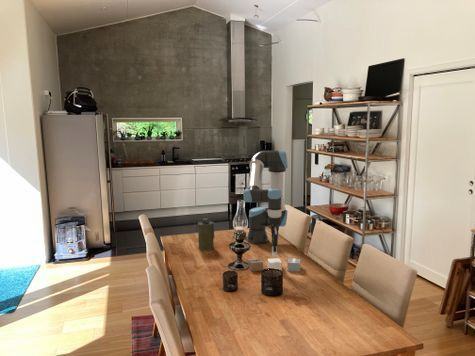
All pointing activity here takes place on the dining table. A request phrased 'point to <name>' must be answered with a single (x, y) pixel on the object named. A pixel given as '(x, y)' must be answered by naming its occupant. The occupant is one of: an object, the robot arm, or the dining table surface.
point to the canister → (206, 234)
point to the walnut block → (255, 264)
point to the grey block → (293, 264)
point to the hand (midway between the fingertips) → (274, 256)
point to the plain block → (275, 263)
